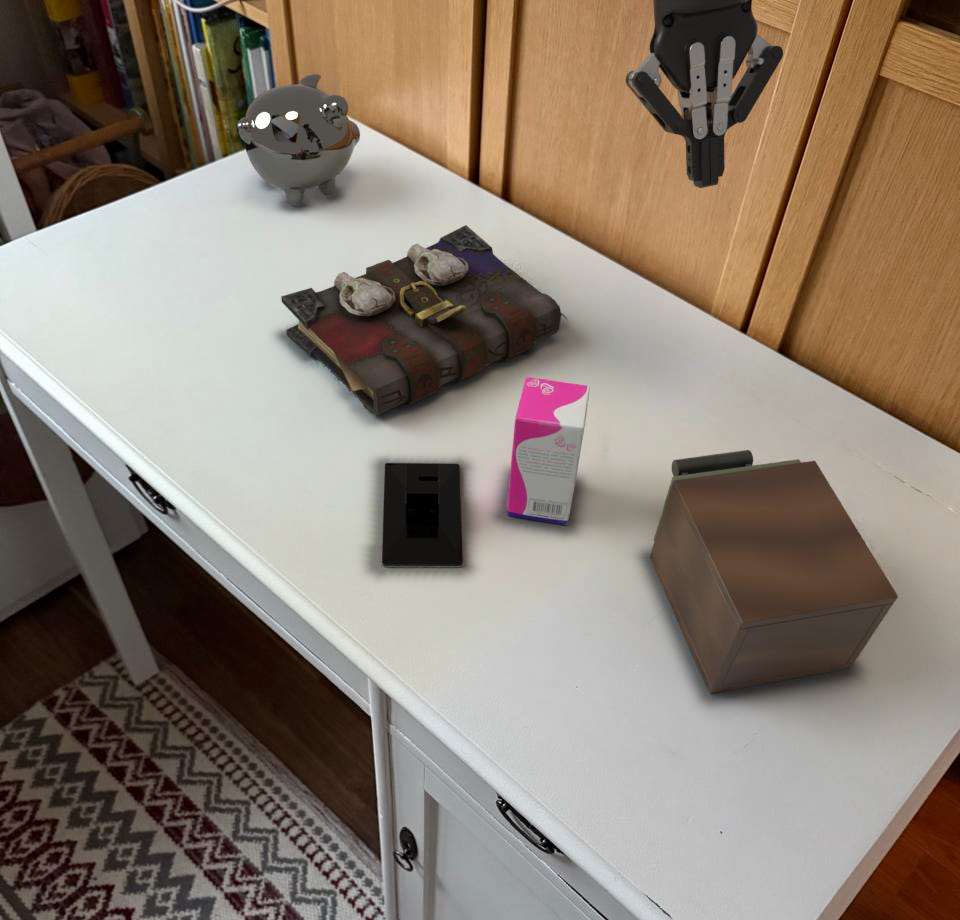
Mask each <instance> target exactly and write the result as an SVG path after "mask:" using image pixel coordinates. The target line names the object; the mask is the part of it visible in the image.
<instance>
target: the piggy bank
mask: <svg viewBox="0 0 960 920" xmlns="http://www.w3.org/2000/svg"><path fill="white" fill-rule="evenodd" d="M321 78H322V76H321V74H319V73H310V74H308V75H305V76H303V77H302V78H301V79H300V80H299V81H298V83H297V84H296V83H293V84H285V85H279V86H276V87H273V88H270V89H267V90H265V91H264V92H261V93H260V94H258V95H257V97H255V98H254V99H253V100H252V101H251V102H250V104H249V105H248V107H247V109H246V110H245V113H244V116H243V117H241V118H240V119H239V120H238V121H237V123H236V127H235V128H236V132H237V134H238V135H239V138H240V139H241V140H242V141H243V144H244V149H245V151H246V152H245V153H246V155H247V158H248V160H249V161H250V164H251V165H252V167H253V169H254V170H255V172H256V173H257V174H258V175H259V177H260V178H262V179H263V180H264V182H266V183H267V184H269V185H271V187H272V186H273V187H274V188H276V189H279V190H281V191H283V193H284V194H285V198H286V199H285V200H286V201H287V204H288V205H289V206H291V207H298V206H300V205H301V204H302V203H303V202H304V197H305V192H306V191H307V190H311V189H315V188H318V190H319V191H320V193H321V194H322V195H323V196H326V197H331V196H334V195H335V193H336V192H337V184H336V178H337V177H338V176H339V175H341V173H342V172H343V171H344V170H345V168H346V167H347V165H348V164H349V162H350V160H351V158H352V155H353V153H354V149H355V147H356V146H357V145H358V143H359V142H360V139H361V133H360V132H361V131H360V128H359V126H358V124H357V123H355V122H354V121H352V120H350V119H349V117H348V113H349V104H348V100H347V99H346V98H345V97H344V96H342V95H339V94H329V93H328V92H327V91H324V90H322V89H321V88H319V87H318V84H319V82H320V79H321Z"/></svg>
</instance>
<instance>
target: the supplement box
mask: <svg viewBox="0 0 960 920" xmlns="http://www.w3.org/2000/svg"><path fill="white" fill-rule="evenodd" d="M590 391H591V386H590V385H585V384H579V383H572V382H565V381H557V380H551V379H545V378H544V379H543V378H538V377H537V378H536V377H530V376H526V377H525V378H524V383H523V387H522V390H521V394H520V399H519V402H518V407H517V409H516V413H515V418H514V425H513V427H514V428H513V439H512V448H511V459H510V469H509V470H510V471H509V482H508V490H507V491H508V493H507V501H506V502H507V503H506V515H507V516H508V517H514V518H520V519H526V520H533V521H537V522H538V521H540V522H545V523H551V524H558V525H564V526H568V524H569V519H570V515H571V509H572V504H573V503H572V502H573V498H574V494H575V488H576V487H575V486H576V481H577V474H578V469H579V464H580V458H581V451H582V445H583V439H584V434H585V427H586V421H587V413H588V406H589V397H590Z"/></svg>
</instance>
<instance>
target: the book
mask: <svg viewBox="0 0 960 920" xmlns="http://www.w3.org/2000/svg"><path fill="white" fill-rule="evenodd" d="M280 299H281V303H282V304H283V306H285V307H286V308H287V310H289V312H290V313H292V315H293V316H294V317H295V318H296V319H297V320H298V323H297V324H296V325H293V326H292V327H289V328H287V329H285V333H286V336H287V337H288V338H289V339H290V340H291V341H292V342H293V343H295V345H297V347H298V348H300V349H301V350H302V351H303V352H304V353H305V354H306V355H308V357H312V356H314V357H315V358H316V359H318V360H319V362H321V363H322V364H323V365H324V366H325V367H326V368H327V369H328V370H329V371H330V372H331V373H332V374H333V375H334V376H335V377H336V378H337V379H338V380H339V381H340V382H341V383H342V384H343V385H344V386H345V387H346V388H347V389H348V390H349V391H350V392H351V393H352V394H353V395H354V396H355V397H356V398H358V400H359V401H360V403H361V404H362V405H363V407H364V408H365V409H366V410H367V411H368V412H369V413H370V414H372V415H373V416H378V415H381V414H383V413H385V412H388V411H390V410H391V409H394V408H396V407H398V406H400V405H403V404H404V405H407V406H410V405H413V404H415V403H417V402H419V401H421V400H423V399H426V398H428V397H430V396H431V395H434V394H436V393H437V392H438V391H439V390H440V389H441V387H442V386H444V385H446V384H449V383H451V382H452V381H455V382H457V383H458V382H460V381H463V380H465V379H466V378H469V377H471V376H473V375H475V374H478V373H480V372H482V371H483V370H484V369H485V368H486V367H487V365H490V364H492V363H494V362H496V361H498V360H502V361H507V360H510V359H511V358H514V357H516V356H518V355H520V354H523V353H525V352H527V351H529V350H531V349H532V348H533V347H534V345H535V343H537V342H540V341H542V340H544V339H546V338H548V337H551V336H553V335H555V334H556V333H558V332H559V331H560V329H561V320H562V316H563V317H564V318H565V319H566V321H568V319H567V316H565V314H564V313H562V312H561V308H560V305H559V304H558V303H557V301H556V300H555V299H554V298H553V297H551V296H550V295H549V294H546V293H543V292H541V291H540V290H539V289H537V288H536V287H535V286H534V285H532V284H531V283H529V282H528V281H527V280H526V279H524V278H523V277H522V276H521V275H520V274H518V273H517V272H515V271H514V270H513V269H512V268H511V267H510V266H508V265H507V264H506V263H504V262H503V261H502V260H501V259H499V258H498V256H497V255H495V254H494V252H493V247H492V246H491V245H490V244H488V242H486V240H484V239H483V238H482V237H480V235H479V234H477V233H476V232H475V231H474V230H472V229H471V228H470V227H469V226H468V225H466V224H465V225H463V226H461V227H459V228H457V229H455V230H453V231H451V232H449V233H447V234H445V235H443V236H441V237H439V240H438V241H437V242H436V243H434V244H431V245H429V246H427V247H424V246H422V245H421V244H419V243H415V244H412V245H411V246H410V247H409V249H408V251H407V252H406V256H404V257H403V258H400V259H398V260H396V261H394V262H393V261H391V260H390V259H386V260H383V261H381V262H379V263H375V264H373V265H371V266H368V267H365V274H364V273H363V274H361V275H358V276H357V277H354V276H352V275H350V274H348V273H347V272H346V271H342V272H340V273H337V276H335V279H334V281H333V286H331V287H328V288H325V289H323V290H321V291H315V290H314V289H313V287H309V288H305V289H302V290H299V291H295V292H291V293H288V294H285V295H282V296H280Z"/></svg>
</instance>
